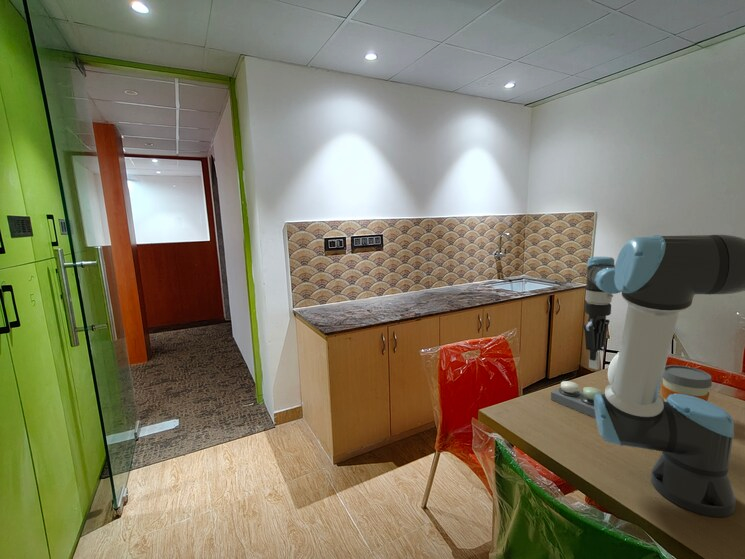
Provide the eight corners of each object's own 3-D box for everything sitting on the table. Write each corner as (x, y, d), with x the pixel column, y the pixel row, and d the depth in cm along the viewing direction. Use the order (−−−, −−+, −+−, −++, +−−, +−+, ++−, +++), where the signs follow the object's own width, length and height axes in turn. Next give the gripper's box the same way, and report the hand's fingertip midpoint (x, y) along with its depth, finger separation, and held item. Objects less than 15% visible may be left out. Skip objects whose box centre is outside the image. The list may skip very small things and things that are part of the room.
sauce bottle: (602, 388, 138) (605, 344, 136) (614, 383, 142) (617, 341, 139) (623, 396, 131) (627, 351, 129) (635, 391, 135) (639, 347, 132)
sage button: (596, 401, 119) (597, 395, 119) (579, 395, 124) (580, 389, 124) (604, 396, 122) (605, 391, 122) (588, 390, 127) (588, 385, 126)
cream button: (572, 394, 126) (573, 389, 126) (557, 388, 131) (557, 383, 130) (581, 390, 129) (581, 385, 129) (565, 384, 134) (566, 379, 133)
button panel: (623, 429, 111) (623, 419, 111) (550, 399, 131) (551, 390, 131) (637, 419, 116) (637, 409, 116) (565, 392, 136) (565, 383, 136)
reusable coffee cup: (717, 425, 111) (723, 381, 109) (672, 422, 114) (676, 379, 112) (690, 405, 124) (695, 365, 121) (650, 403, 126) (654, 363, 124)
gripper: (600, 307, 111) (595, 376, 115) (619, 301, 118) (614, 366, 122) (576, 303, 118) (572, 369, 121) (596, 297, 124) (592, 360, 128)
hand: (593, 368), depth 122 cm, fingers closed
